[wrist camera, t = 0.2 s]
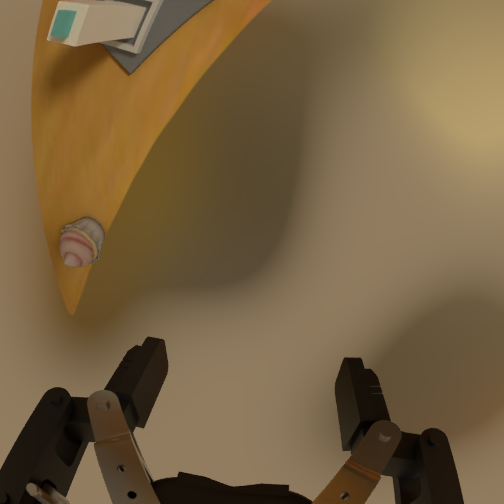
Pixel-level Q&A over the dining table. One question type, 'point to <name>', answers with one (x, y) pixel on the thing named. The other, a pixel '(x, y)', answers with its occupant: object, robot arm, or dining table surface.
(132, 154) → the dining table surface
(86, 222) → the cupcake
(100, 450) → the robot arm
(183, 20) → the panel
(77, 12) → the white tall box
